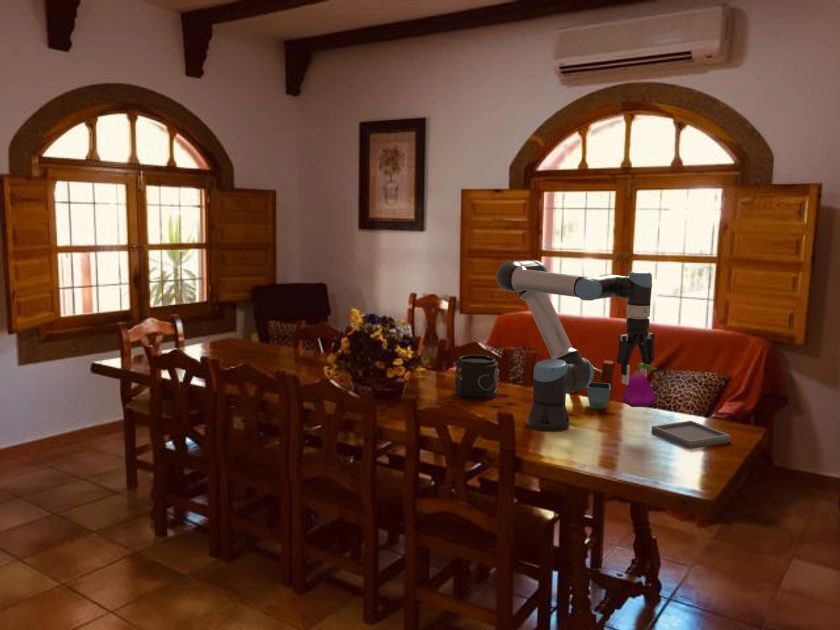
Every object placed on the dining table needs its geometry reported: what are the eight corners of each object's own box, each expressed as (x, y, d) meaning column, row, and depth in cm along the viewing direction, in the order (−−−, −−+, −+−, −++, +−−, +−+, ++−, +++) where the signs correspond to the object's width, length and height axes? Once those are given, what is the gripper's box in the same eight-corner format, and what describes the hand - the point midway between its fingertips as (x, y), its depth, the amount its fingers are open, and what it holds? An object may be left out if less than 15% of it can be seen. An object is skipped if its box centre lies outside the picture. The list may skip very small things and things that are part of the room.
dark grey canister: (505, 393, 304) (506, 357, 302) (485, 403, 290) (486, 364, 287) (468, 387, 314) (468, 352, 312) (447, 396, 299) (447, 359, 297)
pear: (639, 410, 242) (635, 367, 240) (616, 404, 252) (612, 362, 249) (663, 402, 247) (660, 360, 245) (640, 396, 257) (636, 355, 254)
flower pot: (609, 411, 280) (611, 388, 279) (586, 409, 282) (587, 387, 281) (608, 405, 289) (609, 383, 288) (586, 403, 291) (587, 381, 289)
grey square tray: (689, 448, 237) (689, 441, 237) (651, 433, 254) (651, 426, 253) (730, 442, 245) (730, 435, 244) (690, 427, 261) (691, 420, 260)
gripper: (622, 320, 238) (617, 388, 241) (668, 317, 246) (664, 383, 249) (607, 316, 244) (603, 382, 248) (653, 314, 252) (649, 378, 256)
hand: (633, 382), depth 249 cm, fingers open, 7 cm apart
